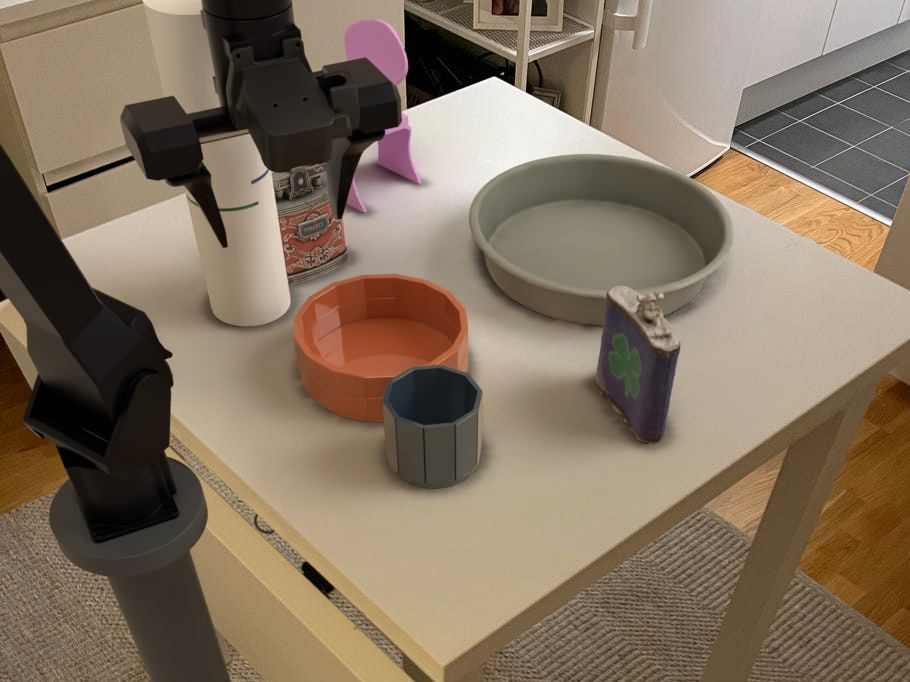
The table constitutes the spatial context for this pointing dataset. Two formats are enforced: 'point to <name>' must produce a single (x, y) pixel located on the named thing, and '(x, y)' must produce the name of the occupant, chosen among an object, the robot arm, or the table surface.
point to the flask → (637, 361)
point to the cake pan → (598, 233)
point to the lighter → (308, 223)
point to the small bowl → (433, 425)
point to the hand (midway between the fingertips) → (281, 230)
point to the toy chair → (391, 60)
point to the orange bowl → (375, 339)
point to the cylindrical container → (223, 179)
